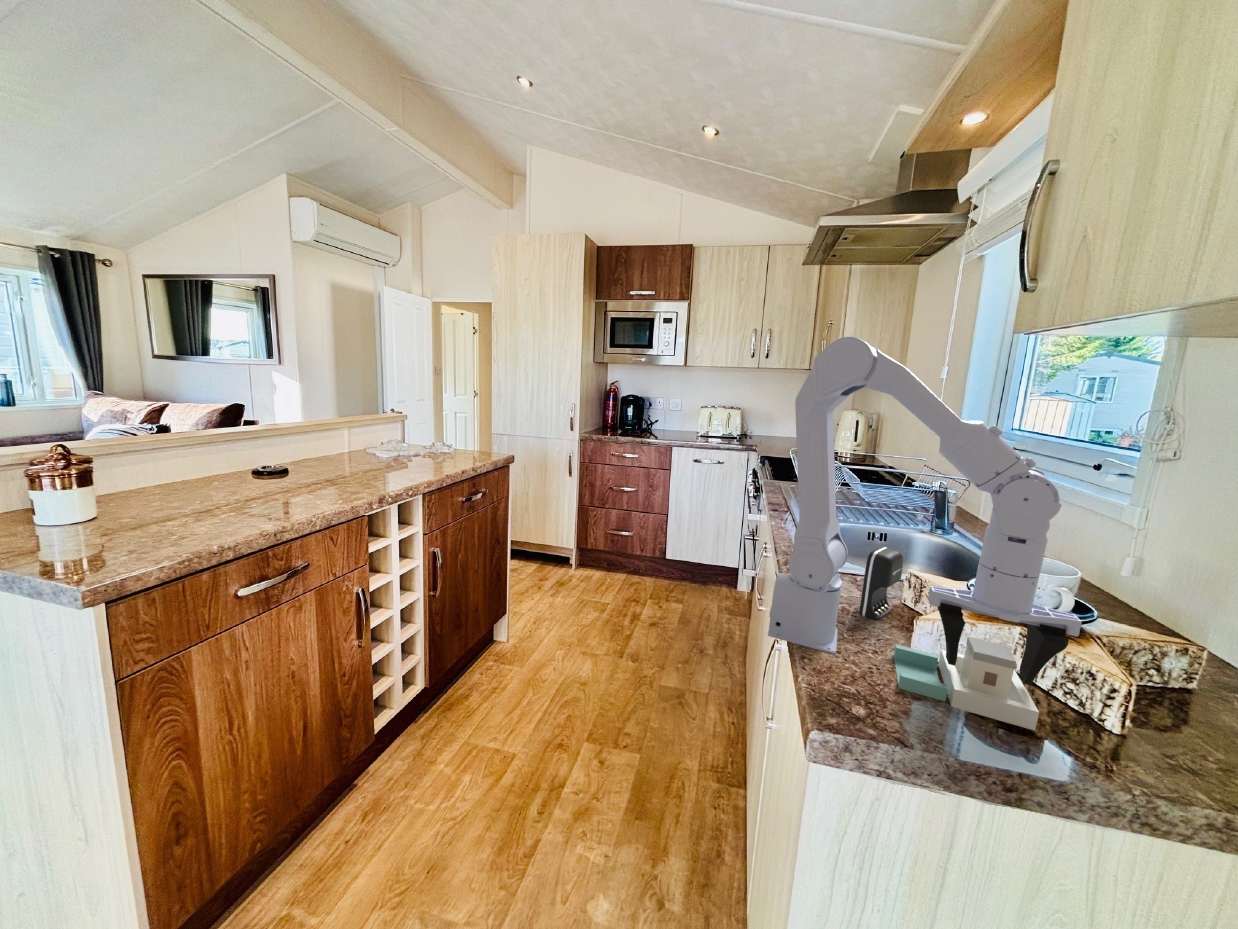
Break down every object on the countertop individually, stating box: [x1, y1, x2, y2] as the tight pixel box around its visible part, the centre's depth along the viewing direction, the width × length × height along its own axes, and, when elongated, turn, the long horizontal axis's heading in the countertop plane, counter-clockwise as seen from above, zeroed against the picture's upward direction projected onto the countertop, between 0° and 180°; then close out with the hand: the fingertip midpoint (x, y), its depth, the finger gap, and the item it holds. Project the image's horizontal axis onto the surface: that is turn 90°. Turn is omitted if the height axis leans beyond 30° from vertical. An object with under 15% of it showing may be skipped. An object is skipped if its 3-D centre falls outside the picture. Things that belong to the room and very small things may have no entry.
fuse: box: [960, 636, 1017, 699], centre depth 60 cm, size 4×4×6 cm
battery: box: [858, 546, 904, 621], centre depth 80 cm, size 7×4×11 cm, turn 131°
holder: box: [893, 644, 948, 702], centre depth 63 cm, size 8×5×2 cm, turn 154°
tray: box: [937, 649, 1040, 731], centre depth 60 cm, size 8×10×3 cm
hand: (986, 670), depth 60 cm, fingers open, 7 cm apart
